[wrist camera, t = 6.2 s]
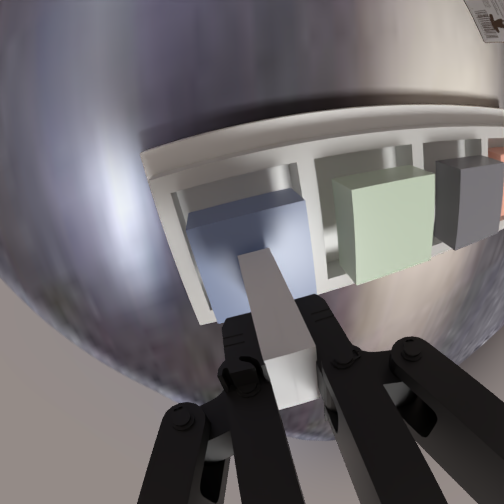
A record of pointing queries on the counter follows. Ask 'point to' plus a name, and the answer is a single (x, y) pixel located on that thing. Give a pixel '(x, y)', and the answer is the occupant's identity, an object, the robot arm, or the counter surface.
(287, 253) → the key slate blue
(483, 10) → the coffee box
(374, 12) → the counter surface
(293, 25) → the counter surface
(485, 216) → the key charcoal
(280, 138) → the keypad board
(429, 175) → the key sage
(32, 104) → the counter surface
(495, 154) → the key coral
